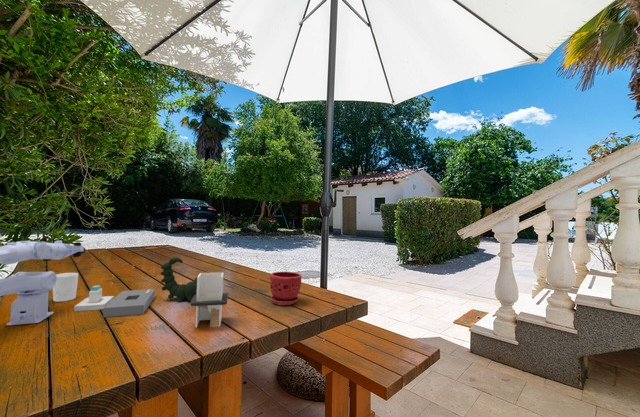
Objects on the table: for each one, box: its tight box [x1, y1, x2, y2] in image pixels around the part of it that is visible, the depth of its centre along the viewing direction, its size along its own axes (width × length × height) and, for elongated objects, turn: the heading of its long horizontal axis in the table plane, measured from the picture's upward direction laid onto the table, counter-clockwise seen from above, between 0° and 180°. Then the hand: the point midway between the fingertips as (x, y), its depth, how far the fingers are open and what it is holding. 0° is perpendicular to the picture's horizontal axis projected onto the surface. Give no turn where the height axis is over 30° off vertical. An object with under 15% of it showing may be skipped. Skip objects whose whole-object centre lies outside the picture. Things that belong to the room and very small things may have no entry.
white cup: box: [52, 272, 79, 303], centre depth 115 cm, size 8×8×10 cm
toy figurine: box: [160, 256, 198, 302], centre depth 119 cm, size 9×19×25 cm
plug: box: [88, 284, 103, 303], centre depth 109 cm, size 4×3×7 cm, turn 21°
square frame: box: [73, 295, 115, 312], centre depth 109 cm, size 11×9×2 cm
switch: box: [102, 288, 156, 318], centre depth 110 cm, size 22×12×4 cm, turn 21°
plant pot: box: [269, 271, 302, 306], centre depth 120 cm, size 13×13×12 cm
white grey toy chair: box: [189, 272, 229, 328], centre depth 95 cm, size 25×24×16 cm
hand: (72, 251), depth 114 cm, fingers open, 7 cm apart
